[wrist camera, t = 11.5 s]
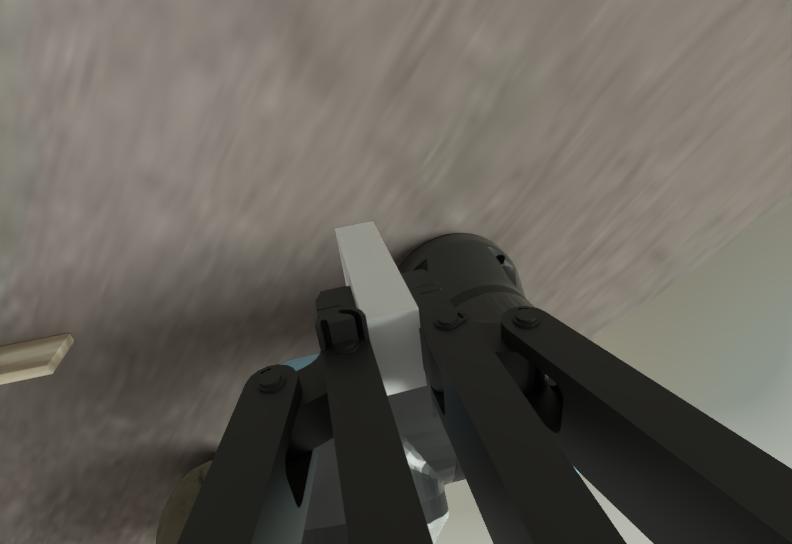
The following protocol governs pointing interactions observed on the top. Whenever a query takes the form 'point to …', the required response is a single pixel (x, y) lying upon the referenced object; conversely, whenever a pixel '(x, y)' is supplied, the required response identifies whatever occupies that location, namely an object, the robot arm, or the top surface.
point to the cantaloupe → (180, 505)
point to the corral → (33, 358)
